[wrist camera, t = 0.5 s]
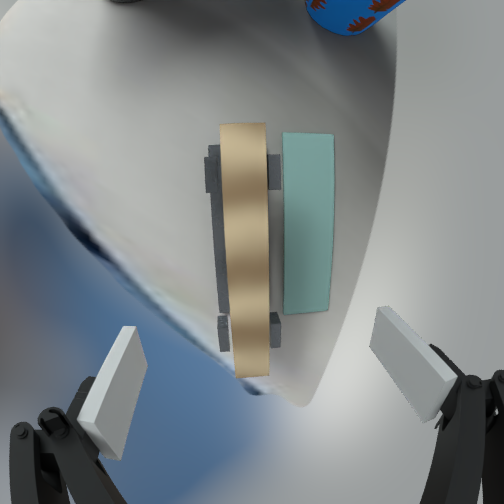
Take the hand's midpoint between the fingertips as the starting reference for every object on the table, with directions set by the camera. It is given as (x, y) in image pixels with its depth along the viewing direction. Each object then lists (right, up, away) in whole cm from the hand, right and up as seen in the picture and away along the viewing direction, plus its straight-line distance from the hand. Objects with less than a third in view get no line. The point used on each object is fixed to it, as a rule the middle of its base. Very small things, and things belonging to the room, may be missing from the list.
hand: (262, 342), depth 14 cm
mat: (+7, +8, +24) cm, 26 cm away
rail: (-1, +4, +13) cm, 14 cm away
